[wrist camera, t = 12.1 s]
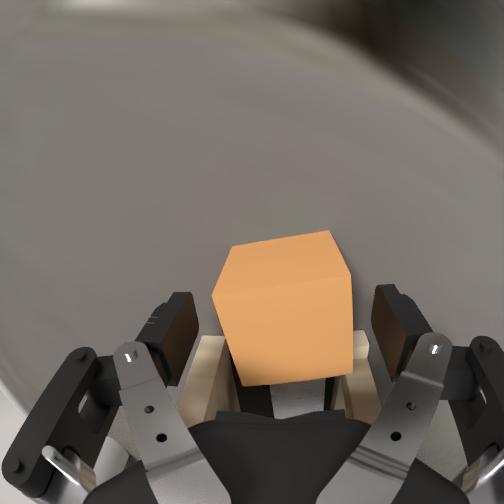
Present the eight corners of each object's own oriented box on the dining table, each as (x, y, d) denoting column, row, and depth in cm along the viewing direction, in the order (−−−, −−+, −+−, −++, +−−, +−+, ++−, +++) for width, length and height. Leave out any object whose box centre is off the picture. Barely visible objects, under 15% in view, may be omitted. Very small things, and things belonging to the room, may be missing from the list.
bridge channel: (327, 474, 25) (330, 534, 17) (243, 475, 26) (234, 534, 18) (363, 329, 16) (400, 448, 8) (202, 335, 17) (160, 451, 9)
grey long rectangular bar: (316, 425, 21) (318, 458, 17) (281, 427, 21) (280, 460, 18) (319, 315, 16) (326, 355, 13) (268, 320, 17) (265, 360, 13)
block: (336, 311, 16) (352, 373, 11) (252, 323, 17) (242, 386, 12) (328, 229, 14) (350, 274, 9) (232, 245, 15) (211, 295, 10)
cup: (70, 416, 26) (32, 483, 15) (126, 443, 26) (94, 519, 15) (82, 441, 29) (53, 499, 18) (131, 464, 29) (106, 527, 18)
